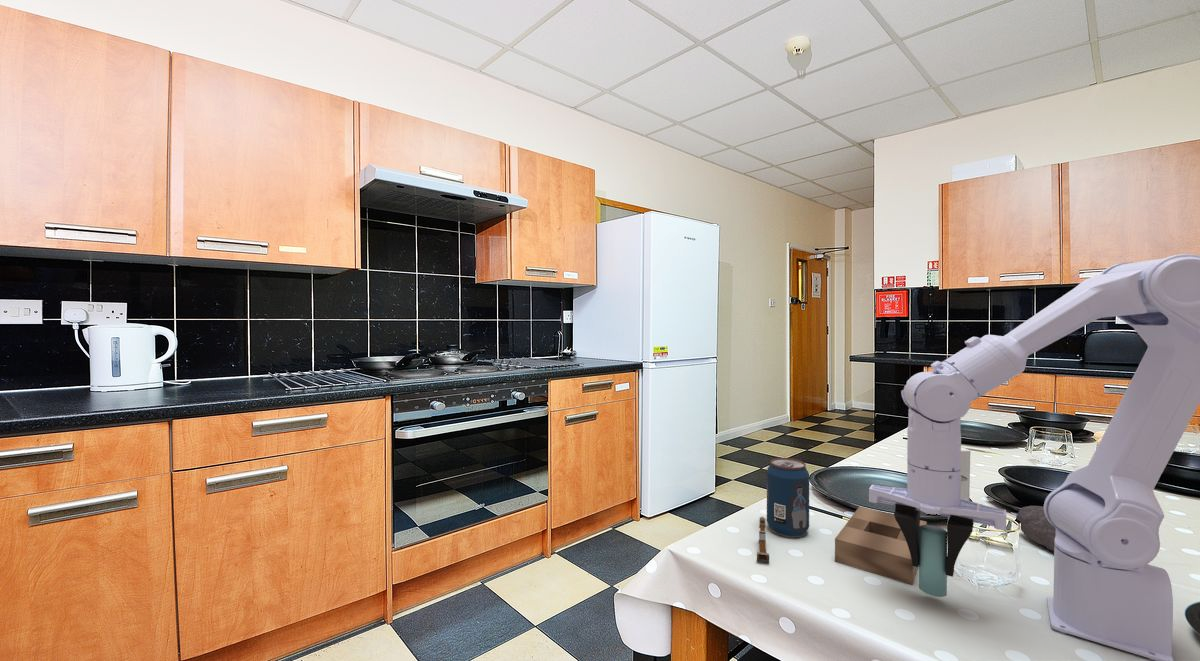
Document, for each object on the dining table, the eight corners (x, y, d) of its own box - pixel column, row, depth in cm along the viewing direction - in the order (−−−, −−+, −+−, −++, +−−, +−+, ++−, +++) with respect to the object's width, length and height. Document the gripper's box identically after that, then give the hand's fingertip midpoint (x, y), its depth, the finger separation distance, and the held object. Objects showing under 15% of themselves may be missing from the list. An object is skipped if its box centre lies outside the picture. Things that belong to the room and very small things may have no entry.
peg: (947, 589, 63) (948, 529, 62) (945, 599, 60) (946, 537, 60) (920, 581, 65) (920, 522, 64) (917, 591, 62) (917, 530, 62)
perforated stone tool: (1004, 533, 82) (1004, 493, 82) (1031, 532, 82) (1032, 492, 82) (1104, 582, 67) (1105, 533, 67) (1138, 579, 67) (1139, 531, 67)
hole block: (926, 542, 79) (926, 521, 78) (912, 584, 66) (912, 559, 66) (859, 525, 85) (859, 506, 85) (834, 561, 73) (835, 538, 73)
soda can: (776, 518, 88) (777, 454, 88) (815, 529, 84) (815, 462, 83) (759, 530, 83) (759, 462, 83) (799, 543, 79) (800, 471, 78)
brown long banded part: (767, 533, 81) (768, 513, 79) (769, 575, 74) (769, 554, 72) (756, 532, 81) (756, 512, 79) (756, 573, 74) (756, 552, 72)
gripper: (864, 461, 64) (863, 562, 64) (1006, 485, 54) (1005, 603, 55) (874, 450, 69) (874, 543, 69) (1006, 470, 60) (1005, 577, 60)
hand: (932, 568), depth 62 cm, fingers closed on peg, 3 cm apart
